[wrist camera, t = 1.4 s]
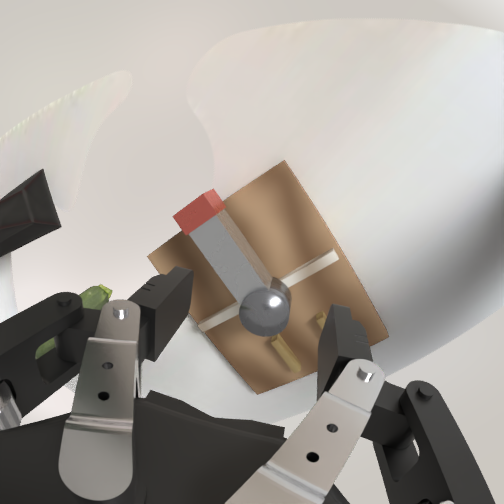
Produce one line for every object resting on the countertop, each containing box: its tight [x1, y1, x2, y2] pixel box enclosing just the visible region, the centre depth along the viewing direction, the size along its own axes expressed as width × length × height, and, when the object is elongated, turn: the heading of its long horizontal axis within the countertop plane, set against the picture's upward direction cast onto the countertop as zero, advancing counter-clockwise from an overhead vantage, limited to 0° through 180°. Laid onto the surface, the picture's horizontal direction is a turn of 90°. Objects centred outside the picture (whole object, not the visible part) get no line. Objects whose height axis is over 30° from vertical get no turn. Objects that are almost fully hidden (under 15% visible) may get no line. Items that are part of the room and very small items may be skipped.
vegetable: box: [35, 285, 112, 359], centre depth 29 cm, size 4×4×20 cm
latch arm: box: [173, 189, 292, 337], centre depth 28 cm, size 14×4×3 cm, turn 34°
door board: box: [147, 160, 389, 395], centre depth 33 cm, size 18×22×3 cm
